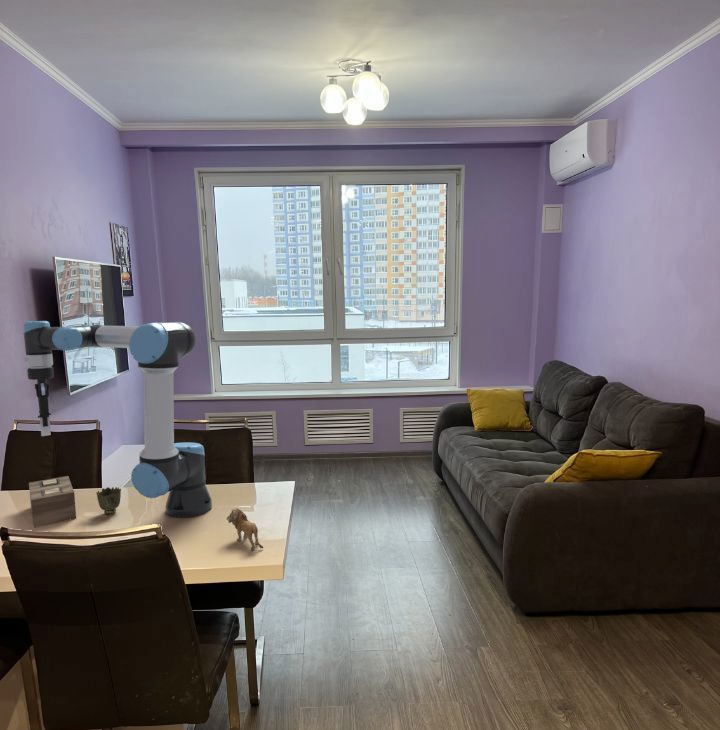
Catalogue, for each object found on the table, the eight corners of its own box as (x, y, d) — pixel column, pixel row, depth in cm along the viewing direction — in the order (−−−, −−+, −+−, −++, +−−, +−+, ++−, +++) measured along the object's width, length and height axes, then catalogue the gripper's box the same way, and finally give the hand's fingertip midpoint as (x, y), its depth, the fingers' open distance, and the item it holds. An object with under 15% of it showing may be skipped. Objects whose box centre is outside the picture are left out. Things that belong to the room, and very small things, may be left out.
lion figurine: (225, 538, 155) (223, 509, 154) (239, 532, 159) (238, 504, 158) (256, 553, 146) (255, 522, 145) (270, 546, 150) (269, 516, 149)
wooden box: (76, 518, 171) (74, 491, 170) (33, 527, 164) (31, 499, 163) (70, 499, 187) (68, 475, 186) (31, 507, 181) (28, 481, 180)
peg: (58, 504, 179) (56, 482, 178) (45, 507, 177) (43, 484, 176) (57, 500, 182) (55, 479, 182) (44, 503, 180) (42, 481, 179)
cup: (110, 519, 170) (108, 495, 169) (93, 516, 173) (91, 493, 172) (127, 510, 177) (125, 488, 176) (110, 507, 180) (108, 485, 179)
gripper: (26, 366, 177) (32, 433, 180) (27, 369, 167) (34, 440, 169) (51, 364, 181) (57, 429, 184) (54, 367, 171) (60, 437, 174)
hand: (46, 435), depth 177 cm, fingers closed
